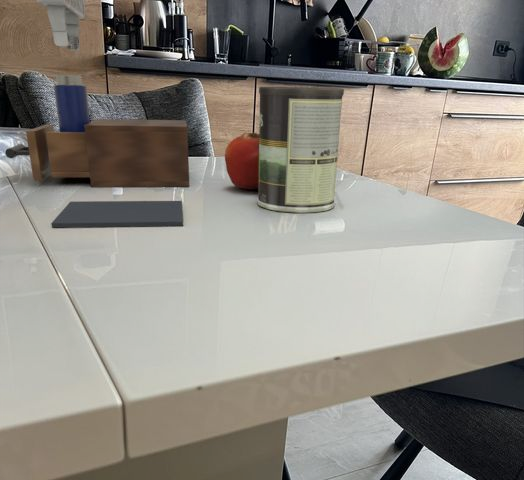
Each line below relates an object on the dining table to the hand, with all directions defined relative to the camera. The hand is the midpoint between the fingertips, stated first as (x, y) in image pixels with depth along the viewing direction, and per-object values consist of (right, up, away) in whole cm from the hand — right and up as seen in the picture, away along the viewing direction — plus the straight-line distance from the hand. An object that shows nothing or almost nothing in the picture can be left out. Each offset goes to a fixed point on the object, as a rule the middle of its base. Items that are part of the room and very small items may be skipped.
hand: (68, 48), depth 80 cm
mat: (+12, -28, -15) cm, 34 cm away
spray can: (-1, -15, +7) cm, 17 cm away
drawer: (-2, -16, +7) cm, 18 cm away
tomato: (+27, -20, +3) cm, 34 cm away
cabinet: (+9, -16, +9) cm, 21 cm away
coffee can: (+33, -25, -7) cm, 42 cm away
